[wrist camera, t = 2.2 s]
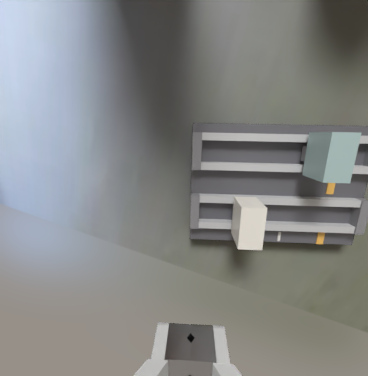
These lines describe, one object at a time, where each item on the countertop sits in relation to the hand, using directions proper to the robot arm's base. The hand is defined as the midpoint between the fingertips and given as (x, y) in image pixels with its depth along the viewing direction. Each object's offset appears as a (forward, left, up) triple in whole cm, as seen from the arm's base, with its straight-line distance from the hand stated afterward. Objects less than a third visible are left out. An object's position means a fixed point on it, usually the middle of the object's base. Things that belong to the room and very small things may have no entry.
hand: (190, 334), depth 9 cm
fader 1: (+6, 0, -16) cm, 17 cm away
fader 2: (+13, +7, -16) cm, 22 cm away
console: (+10, +3, -18) cm, 21 cm away
